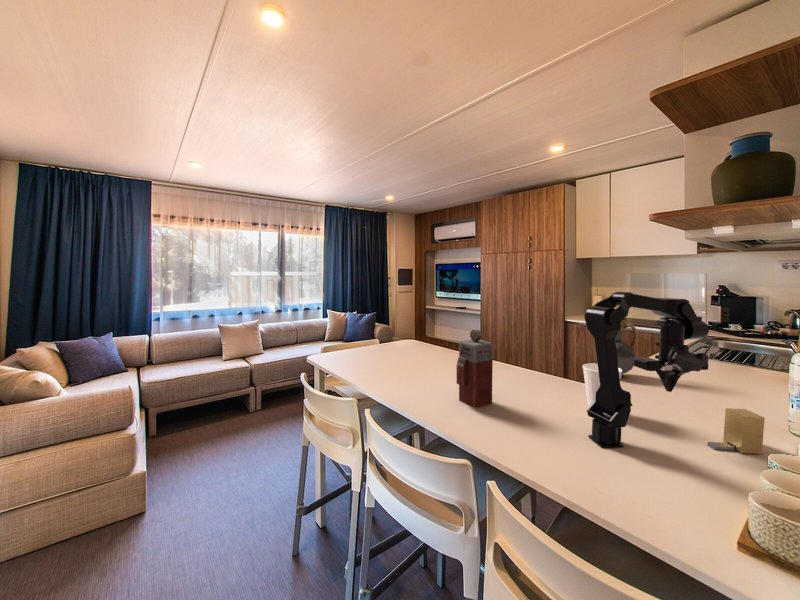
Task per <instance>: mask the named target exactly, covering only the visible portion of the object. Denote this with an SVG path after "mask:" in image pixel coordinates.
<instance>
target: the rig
mask: <svg viewBox="0 0 800 600" xmlns="http://www.w3.org/2000/svg"><path fill="white" fill-rule="evenodd" d="M707 446H708V447H709V448H711V449H713V451H733V452H738V451H737V450H736V446H735V445H733V444H731V443H723V442H720V441H719V442H714V441H713V442H712V441H707Z"/></svg>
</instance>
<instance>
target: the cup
mask: <svg viewBox="0 0 800 600" xmlns="http://www.w3.org/2000/svg"><path fill="white" fill-rule="evenodd" d="M618 369H619V377H620V380H621V379H622V378H621V374H622V372H623V371H622V369H620V368H618ZM582 370H583V377H584V379H583V380H584V387H585V392H586V393H585V394H586V402H587V406H588V408H589V407H590V406H591V404H592V403H593V402H594V401H595V396H596V392H597V390H598V388H599V387H600V380H599V372H598V363H597V362H596V363H595V362H592V363H585V364H583V365H582ZM603 414H605V413H603ZM605 415H607V414H605ZM607 416H609V417H611V416H610V415H607Z"/></svg>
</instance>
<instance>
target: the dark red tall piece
mask: <svg viewBox="0 0 800 600" xmlns="http://www.w3.org/2000/svg"><path fill="white" fill-rule="evenodd" d="M469 336H470V339H466V340H461V341H459V344H458V346H459V347H458V352H459V353H458V354H459V355H458V359H457V362H456V384H457V385H458V401H459V402H461V403H463V404H464V405H466V406H468V407H471V408H472V409H477V408H480V407H484V406H488V405H493V367H494V365H493V360H494V359H493V358H494V357H493V356H494V353H493V352H494V349H493V348H494V345H493V342H491V341H487V340H482V338H483V337H482V336H483V335H482V331H481V330H480V329H478V328H475V329H471V330H470V333H469Z"/></svg>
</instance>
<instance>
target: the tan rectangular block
mask: <svg viewBox="0 0 800 600" xmlns="http://www.w3.org/2000/svg"><path fill="white" fill-rule="evenodd" d="M765 420H766V419H765V417H764V416H762V415H760V414H757V413H755V412H754V411H751V410H748V409H746V408H727V407H725V412H724V426H723V439H722V440H723V441H722V443H731V444H733V445H735V446H736V450H737V451H736V452H738V453H740V454H756V455H762V454H763V445H764V444H763V443H764V431H765Z"/></svg>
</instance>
